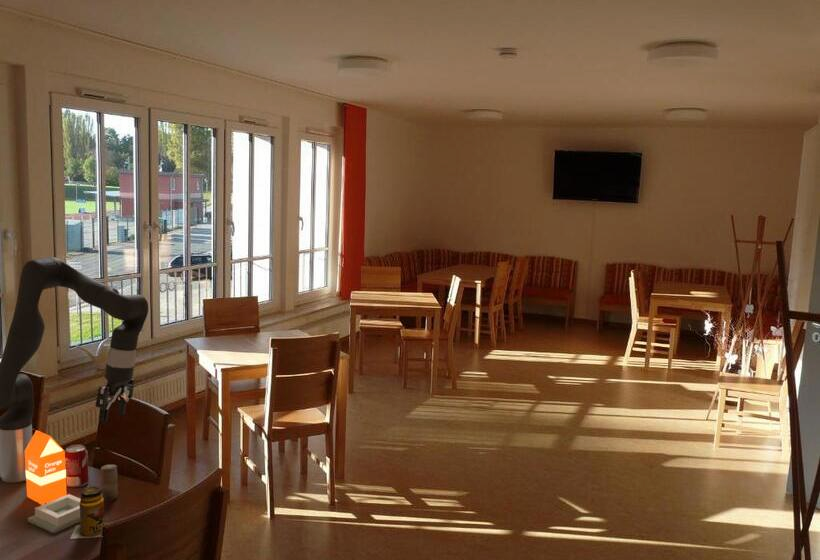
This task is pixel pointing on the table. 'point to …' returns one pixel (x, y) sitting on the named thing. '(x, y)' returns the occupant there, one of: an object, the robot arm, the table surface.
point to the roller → (109, 482)
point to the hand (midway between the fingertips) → (111, 417)
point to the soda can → (76, 466)
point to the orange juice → (45, 469)
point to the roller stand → (57, 514)
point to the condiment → (90, 514)
